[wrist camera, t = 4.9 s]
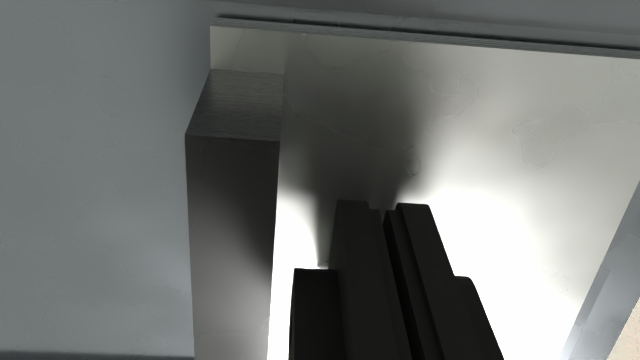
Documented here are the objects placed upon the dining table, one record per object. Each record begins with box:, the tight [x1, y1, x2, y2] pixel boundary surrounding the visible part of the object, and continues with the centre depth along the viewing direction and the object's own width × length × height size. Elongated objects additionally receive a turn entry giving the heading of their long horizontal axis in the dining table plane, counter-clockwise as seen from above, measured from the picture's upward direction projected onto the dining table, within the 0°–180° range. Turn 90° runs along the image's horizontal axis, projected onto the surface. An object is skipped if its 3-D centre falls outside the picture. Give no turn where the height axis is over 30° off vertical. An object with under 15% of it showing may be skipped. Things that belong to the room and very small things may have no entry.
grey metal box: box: [0, 0, 640, 360], centre depth 14 cm, size 18×14×7 cm
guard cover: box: [184, 17, 640, 360], centre depth 10 cm, size 8×8×3 cm
